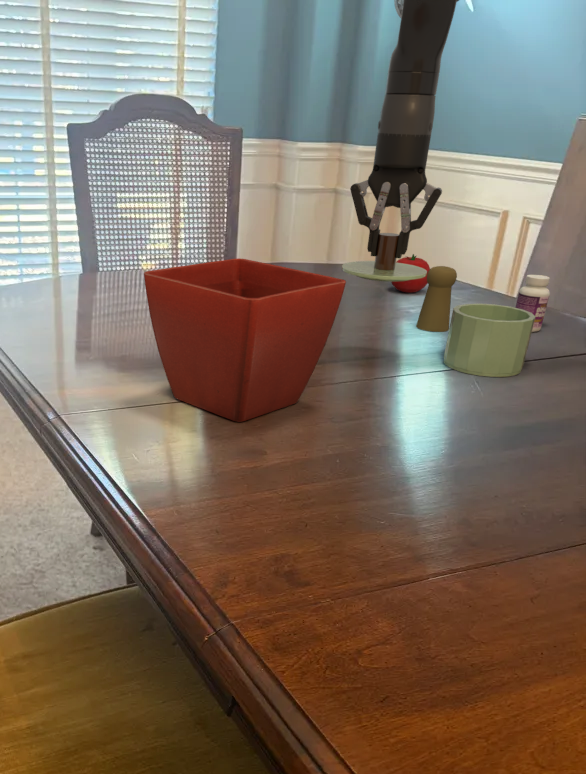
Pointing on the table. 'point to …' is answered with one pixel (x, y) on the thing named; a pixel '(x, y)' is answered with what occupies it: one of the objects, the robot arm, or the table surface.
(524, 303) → the pill bottle
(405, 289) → the tomato
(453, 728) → the table surface
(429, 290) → the pepper mill
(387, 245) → the pot lid
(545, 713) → the table surface
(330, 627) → the table surface
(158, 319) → the flower pot
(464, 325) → the pot
